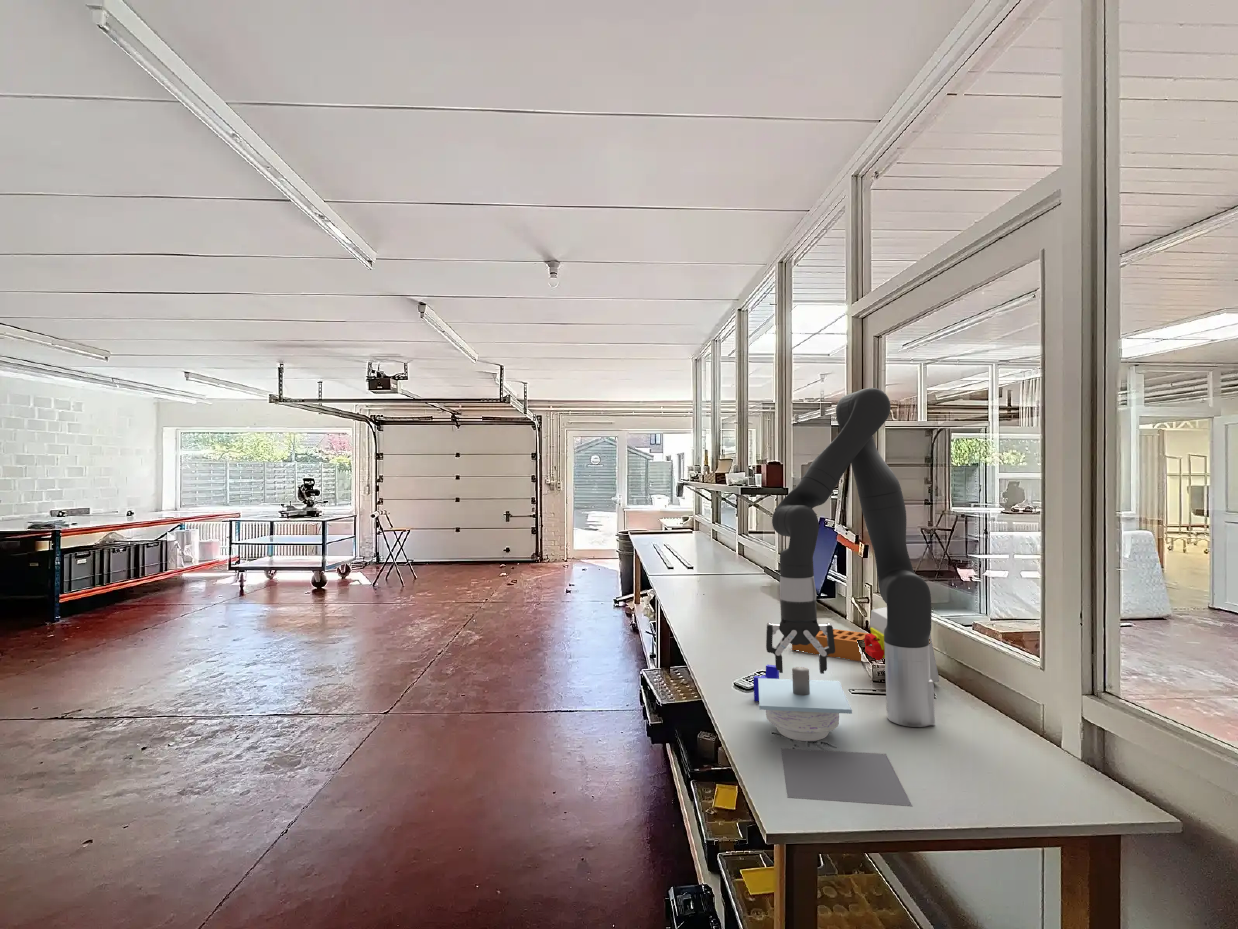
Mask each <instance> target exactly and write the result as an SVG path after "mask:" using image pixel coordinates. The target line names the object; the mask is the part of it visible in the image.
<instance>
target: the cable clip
mask: <svg viewBox="0 0 1238 929" xmlns="http://www.w3.org/2000/svg"><path fill="white" fill-rule="evenodd" d="M758 678H767V679H780V673H779V670H777V669H776V664H774V665H773V664H766V665H765V675H763V674H762V675H761V676H759V675H755V676H753V701H754V702H757V701H759V685H758Z"/></svg>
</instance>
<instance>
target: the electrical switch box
mask: <svg viewBox="0 0 1238 929" xmlns="http://www.w3.org/2000/svg"><path fill="white" fill-rule="evenodd" d="M869 626H870V627H869V630H870V633H869V634H866V635H865V638H864V643H865V652H866V653H867V654H868V655H869V656H871V657H872V658H875V659H876V660H880V659H882V658H885V647H884V630H885V628H886V626H887V606H886V607H878V608H875V609H871V611H870V619H869ZM929 639H930V642H931V643H930V644H929V657H930V679H931V680H932V681H933V683H939V682H940V676H939V672H938V666H937V662H936V656H935V650H934V645H933V640H932V635H931V633H930V636H929ZM870 644H872V646H869V645H870Z"/></svg>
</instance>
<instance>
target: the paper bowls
mask: <svg viewBox="0 0 1238 929" xmlns="http://www.w3.org/2000/svg"><path fill="white" fill-rule="evenodd" d="M765 715H766V719H767V721H768V722H769V723H770V724H771V725H773V726H775V727H776V729H777V731H778V733H779V734H780V735H782V736H784V737H785V738H788V739H791V740H795V741H801V742H815V741H820V740H823V739H825V738H826V737H827V736H829V733H830V732H831V731H832V732H833V731H834V730H835V729H836V728H838V727H839V725H840V713H824V712H802V711H779V710H765Z"/></svg>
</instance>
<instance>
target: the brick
mask: <svg viewBox="0 0 1238 929" xmlns="http://www.w3.org/2000/svg"><path fill="white" fill-rule="evenodd" d="M833 634H834V643H835V653H833V654H832V653H831V654H828V655H827V657H829V656H830V658H836V657H840V658H839V659H842V658H845V659H844V660H848V659H850V661H856V662H861V654H860V652H859V647H858V643H857V640H864V638H865V635H866V634H870V633H867V632H859V631H852V630H843V629H835V628H833ZM815 638H816V639H817V640H818V641H819V643H820V644H821V645H822V646H823V648H825V647H828V644H827V635H824V633H823V631H822V630H820V631H819V632H818V634H817V635H816V637H815ZM792 650H799V651H804V652H808V653H807V654H810V653H813V654H812V655H816V654H820V653H819V652H818V651H817V649H816V648H815V647H814V646H813V645H812V643H810V644H808V645H802V644H799V645H793V644H791V651H792ZM804 652H803V653H804Z"/></svg>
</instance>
